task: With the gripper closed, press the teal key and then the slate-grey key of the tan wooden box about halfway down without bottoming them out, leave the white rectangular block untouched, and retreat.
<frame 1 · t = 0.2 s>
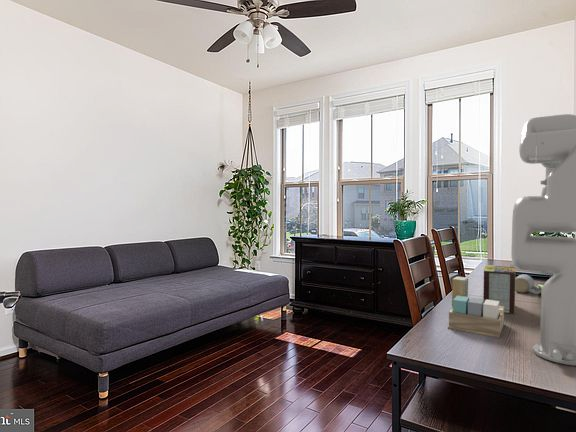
hand: (556, 230, 133), 31 cm above the table, tool pointing down, fingers open, 9 cm apart
tan wooden box: (475, 327, 119), on the table
protein box: (498, 308, 143), on the table
teal key: (461, 305, 121), point 6 cm above the table, slide at 0.0 cm
slate key: (475, 308, 119), point 7 cm above the table, slide at 0.0 cm
skincare box: (459, 310, 140), on the table
white rectangular block: (491, 310, 116), point 6 cm above the table, slide at 0.0 cm
ceramic mug: (526, 292, 170), on the table
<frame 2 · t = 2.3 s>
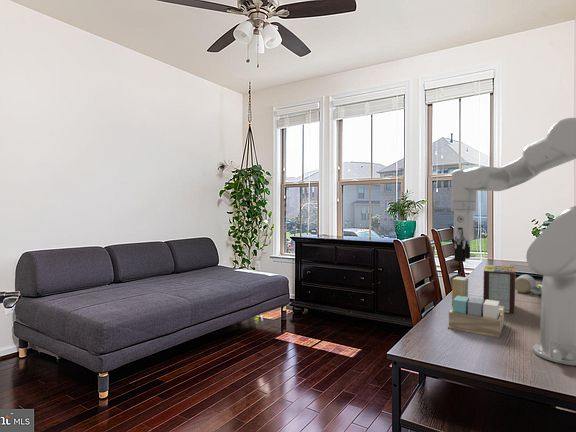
hand: (462, 259, 121), 22 cm above the table, tool pointing down, fingers open, 8 cm apart
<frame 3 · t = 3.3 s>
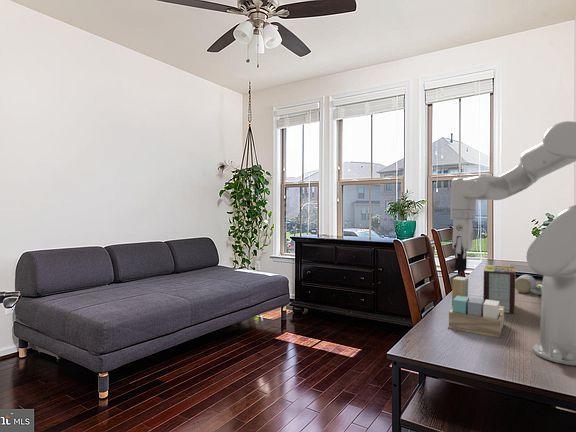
hand: (460, 270, 122), 18 cm above the table, tool pointing down, fingers closed
nothing on the table moved.
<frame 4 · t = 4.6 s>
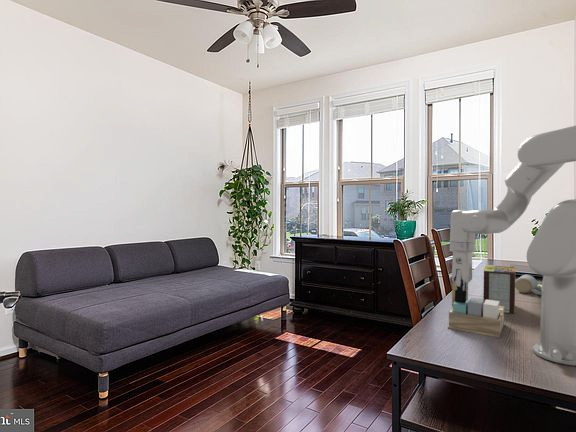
hand: (460, 301, 122), 8 cm above the table, tool pointing down, fingers closed
teal key: (461, 309, 121), point 5 cm above the table, slide at 1.3 cm, touching gripper
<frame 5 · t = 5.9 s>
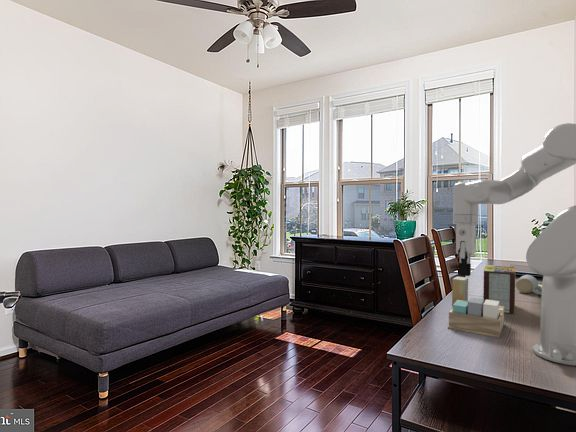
hand: (464, 275, 121), 17 cm above the table, tool pointing down, fingers closed
teal key: (461, 310, 122), point 5 cm above the table, slide at 1.7 cm
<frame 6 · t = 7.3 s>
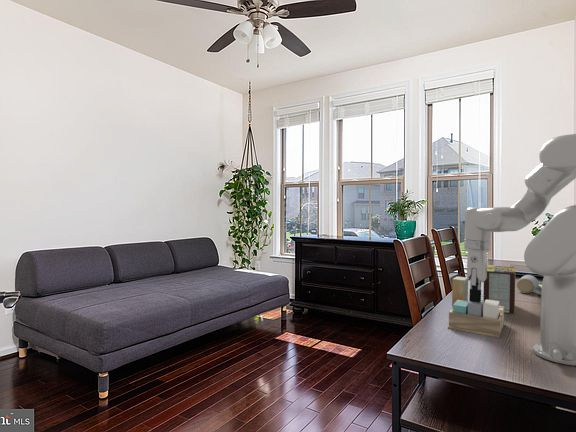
hand: (475, 301, 119), 9 cm above the table, tool pointing down, fingers closed
slate key: (475, 309, 119), point 6 cm above the table, slide at 0.4 cm, touching gripper
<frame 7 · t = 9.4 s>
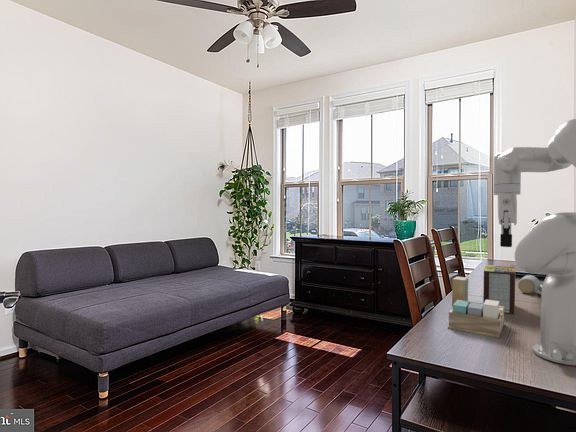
hand: (506, 246, 119), 27 cm above the table, tool pointing down, fingers closed
slate key: (475, 313, 119), point 5 cm above the table, slide at 1.7 cm
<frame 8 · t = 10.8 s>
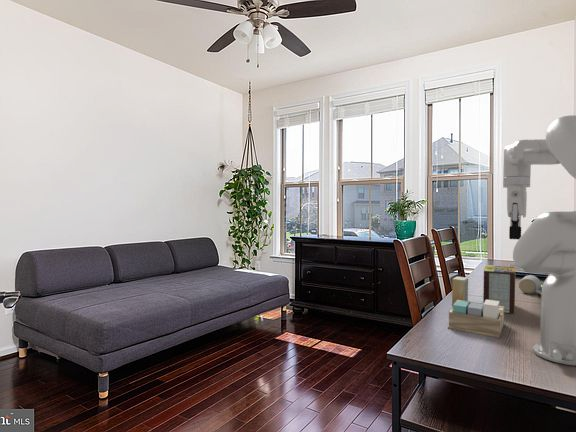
hand: (515, 238, 119), 29 cm above the table, tool pointing down, fingers closed
at the end: teal key slide at 1.7 cm; slate key slide at 1.7 cm; white rectangular block slide at 0.0 cm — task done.
